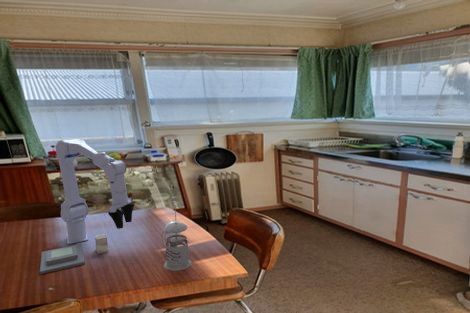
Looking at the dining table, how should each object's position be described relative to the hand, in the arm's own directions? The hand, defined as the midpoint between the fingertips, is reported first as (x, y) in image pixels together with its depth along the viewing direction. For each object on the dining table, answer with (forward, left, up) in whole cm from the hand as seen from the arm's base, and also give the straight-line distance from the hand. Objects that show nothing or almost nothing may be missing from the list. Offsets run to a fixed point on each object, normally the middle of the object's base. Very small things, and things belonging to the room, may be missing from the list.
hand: (124, 225), depth 125 cm
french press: (+21, +13, -11) cm, 27 cm away
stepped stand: (-5, -23, -11) cm, 25 cm away
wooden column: (-5, -9, -11) cm, 14 cm away
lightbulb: (+7, +17, -11) cm, 22 cm away
